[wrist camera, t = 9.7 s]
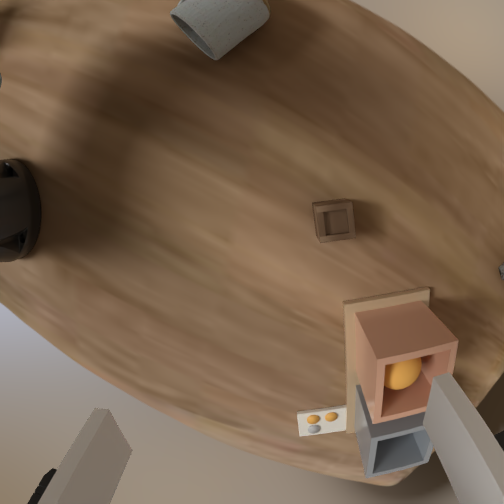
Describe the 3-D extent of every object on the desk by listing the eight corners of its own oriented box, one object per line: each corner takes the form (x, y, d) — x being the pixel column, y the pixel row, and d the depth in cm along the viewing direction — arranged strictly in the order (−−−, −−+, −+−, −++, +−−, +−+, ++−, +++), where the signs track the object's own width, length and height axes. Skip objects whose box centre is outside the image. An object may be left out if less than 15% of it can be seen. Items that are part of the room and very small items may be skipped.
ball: (399, 373, 32) (365, 385, 31) (402, 333, 32) (367, 343, 30) (428, 387, 27) (393, 403, 26) (432, 343, 27) (396, 357, 26)
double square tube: (345, 429, 41) (355, 484, 30) (342, 301, 36) (364, 350, 25) (412, 414, 40) (434, 464, 29) (426, 286, 35) (469, 326, 24)
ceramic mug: (277, 26, 29) (275, -8, 21) (222, 69, 30) (206, 44, 23) (216, -20, 27) (202, -54, 20) (165, 20, 29) (140, -8, 22)
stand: (316, 235, 34) (320, 242, 31) (312, 202, 33) (316, 206, 30) (348, 231, 34) (355, 237, 30) (344, 198, 33) (352, 201, 29)
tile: (299, 433, 42) (299, 437, 41) (296, 411, 41) (297, 415, 40) (345, 427, 41) (346, 430, 40) (345, 404, 40) (346, 408, 39)
